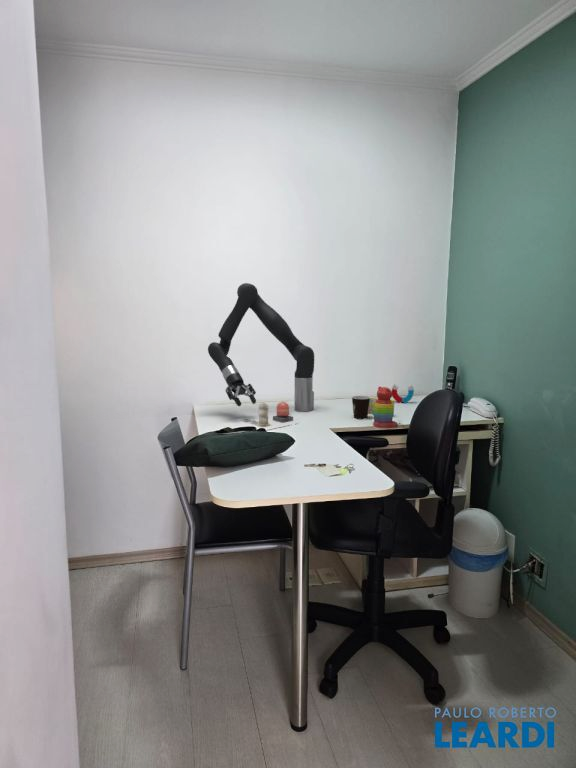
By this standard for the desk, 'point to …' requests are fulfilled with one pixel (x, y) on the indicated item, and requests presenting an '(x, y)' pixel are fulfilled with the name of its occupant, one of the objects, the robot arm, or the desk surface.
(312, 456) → the desk surface
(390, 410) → the stacking bear
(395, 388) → the magnet
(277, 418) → the game board
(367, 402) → the coffee mug
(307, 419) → the desk surface
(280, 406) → the dome
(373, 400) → the candy box
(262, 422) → the pawn
